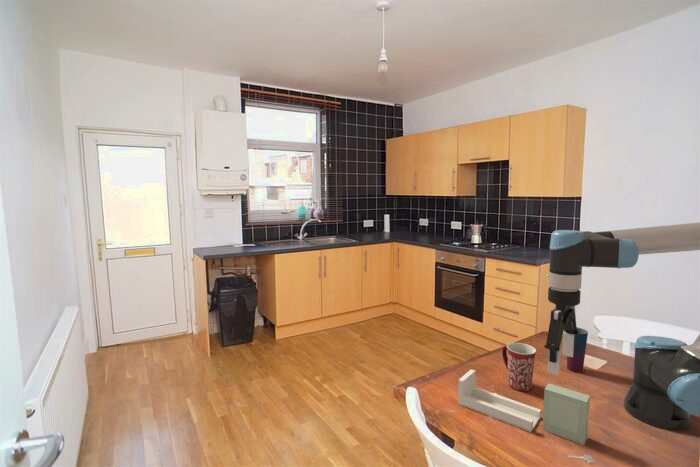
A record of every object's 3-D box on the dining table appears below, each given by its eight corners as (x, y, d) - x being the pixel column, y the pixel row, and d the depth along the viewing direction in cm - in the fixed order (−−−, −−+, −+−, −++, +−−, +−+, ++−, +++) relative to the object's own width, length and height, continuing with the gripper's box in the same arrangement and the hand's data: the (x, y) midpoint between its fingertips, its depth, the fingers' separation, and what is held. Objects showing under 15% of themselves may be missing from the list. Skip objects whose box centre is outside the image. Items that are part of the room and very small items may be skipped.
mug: (540, 390, 125) (542, 351, 123) (518, 395, 122) (519, 355, 121) (514, 372, 137) (515, 337, 135) (493, 376, 134) (494, 340, 133)
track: (540, 417, 110) (541, 391, 109) (531, 432, 103) (532, 405, 103) (470, 392, 124) (471, 369, 123) (458, 403, 118) (458, 379, 117)
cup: (585, 367, 140) (588, 329, 138) (585, 375, 134) (587, 335, 132) (564, 363, 143) (566, 325, 142) (563, 370, 138) (565, 331, 136)
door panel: (587, 437, 101) (589, 395, 100) (584, 445, 98) (586, 402, 97) (546, 422, 108) (548, 383, 106) (542, 429, 105) (544, 389, 103)
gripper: (561, 277, 112) (558, 345, 114) (533, 295, 94) (530, 376, 96) (591, 281, 107) (587, 352, 109) (567, 301, 89) (563, 386, 91)
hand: (560, 364), depth 103 cm, fingers open, 13 cm apart
